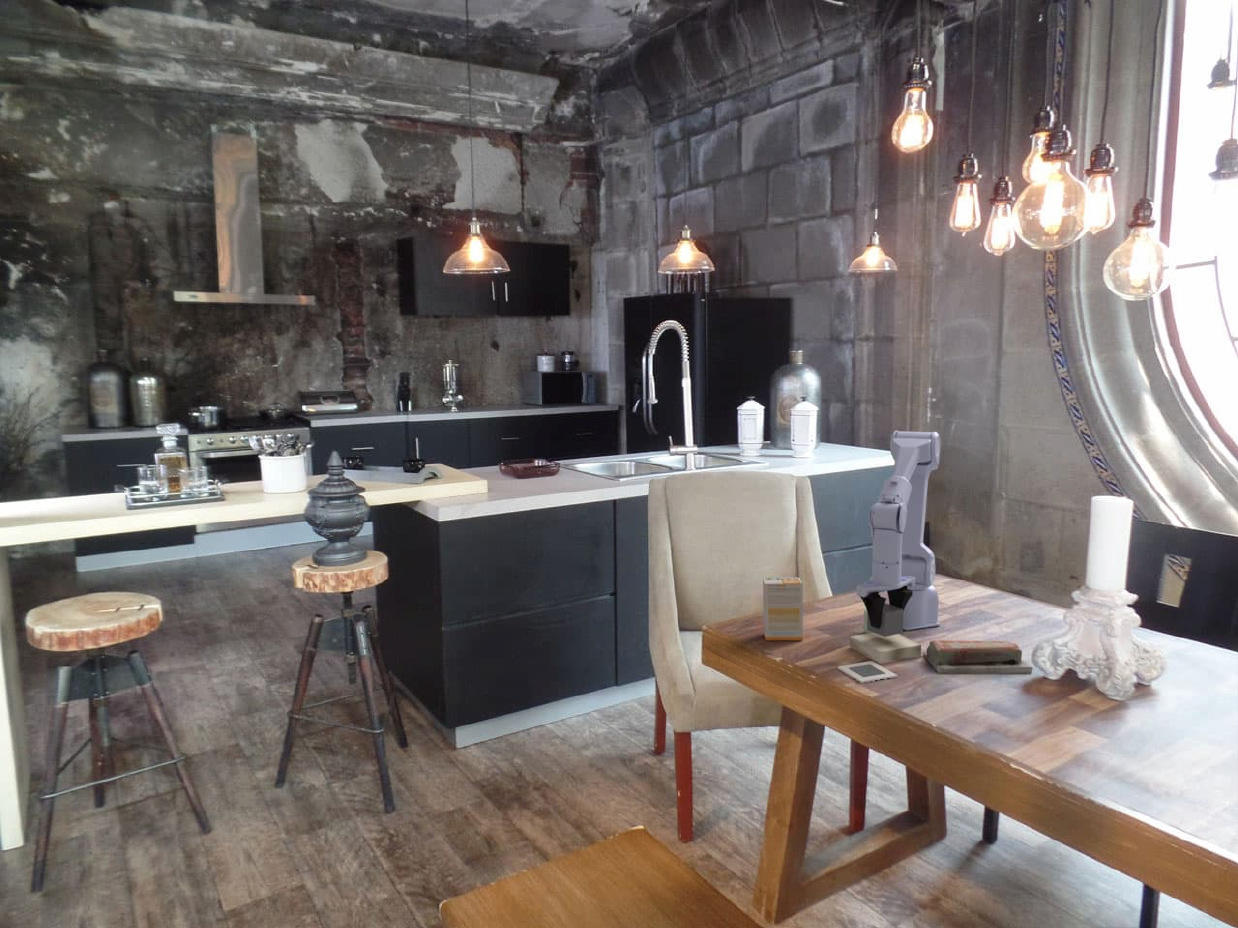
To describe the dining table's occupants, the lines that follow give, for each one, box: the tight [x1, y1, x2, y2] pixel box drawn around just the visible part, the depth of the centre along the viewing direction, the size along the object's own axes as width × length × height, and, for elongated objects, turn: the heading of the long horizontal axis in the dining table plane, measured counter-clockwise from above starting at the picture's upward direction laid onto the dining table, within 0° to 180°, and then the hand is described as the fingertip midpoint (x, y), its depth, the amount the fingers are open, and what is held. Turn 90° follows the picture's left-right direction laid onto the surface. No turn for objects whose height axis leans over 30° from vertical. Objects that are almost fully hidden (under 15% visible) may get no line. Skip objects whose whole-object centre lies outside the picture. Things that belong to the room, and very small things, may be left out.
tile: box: [837, 660, 898, 684], centre depth 163 cm, size 8×8×1 cm
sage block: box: [863, 609, 873, 634], centre depth 185 cm, size 5×5×5 cm
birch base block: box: [849, 633, 922, 665], centre depth 174 cm, size 10×10×3 cm
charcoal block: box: [867, 602, 904, 637], centre depth 173 cm, size 5×5×5 cm
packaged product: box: [922, 639, 1034, 674], centre depth 166 cm, size 18×5×10 cm
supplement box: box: [762, 577, 804, 641], centre depth 183 cm, size 8×5×13 cm, turn 84°
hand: (885, 624), depth 173 cm, fingers closed on charcoal block, 5 cm apart
